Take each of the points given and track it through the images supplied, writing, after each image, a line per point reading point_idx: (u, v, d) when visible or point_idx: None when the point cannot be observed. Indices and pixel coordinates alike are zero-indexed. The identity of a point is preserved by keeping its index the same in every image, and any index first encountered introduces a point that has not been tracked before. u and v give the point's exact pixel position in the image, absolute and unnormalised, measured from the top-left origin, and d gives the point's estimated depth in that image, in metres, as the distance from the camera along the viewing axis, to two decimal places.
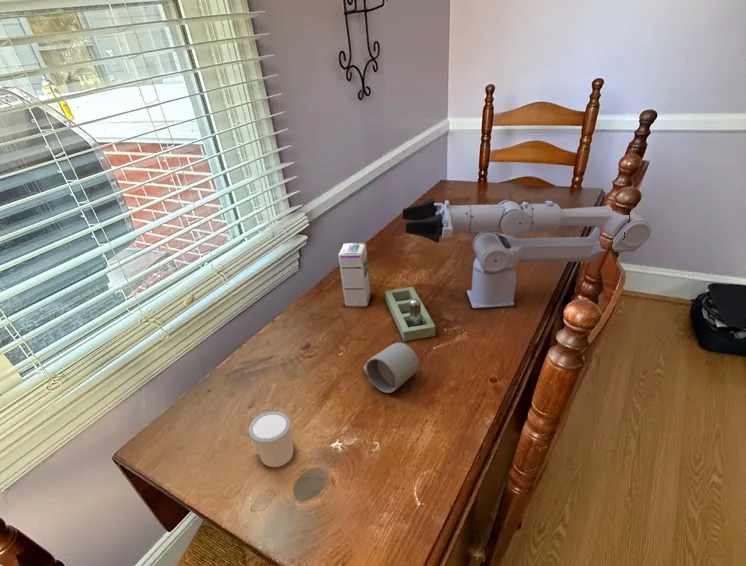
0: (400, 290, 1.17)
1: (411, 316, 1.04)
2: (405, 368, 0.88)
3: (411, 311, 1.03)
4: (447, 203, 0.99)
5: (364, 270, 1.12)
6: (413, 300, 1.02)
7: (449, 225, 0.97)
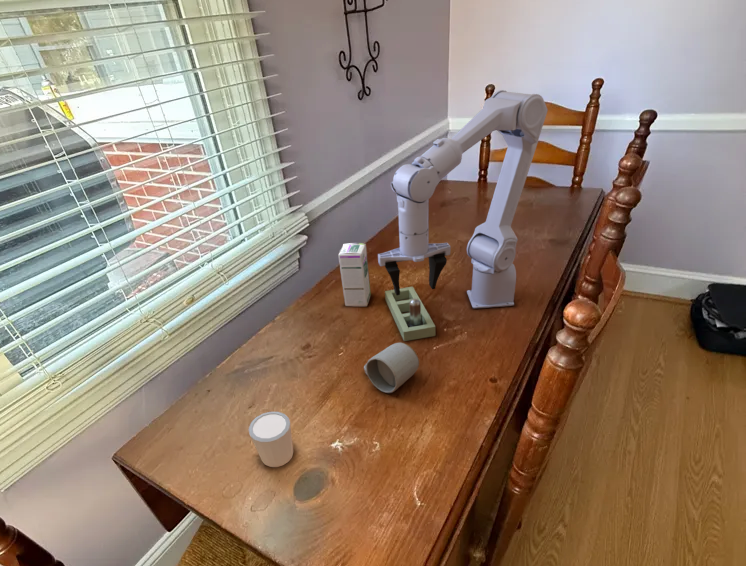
0: (400, 290, 1.17)
1: (411, 316, 1.04)
2: (405, 368, 0.88)
3: (411, 311, 1.03)
4: (423, 259, 0.93)
5: (364, 270, 1.12)
6: (413, 300, 1.02)
7: (444, 250, 0.95)
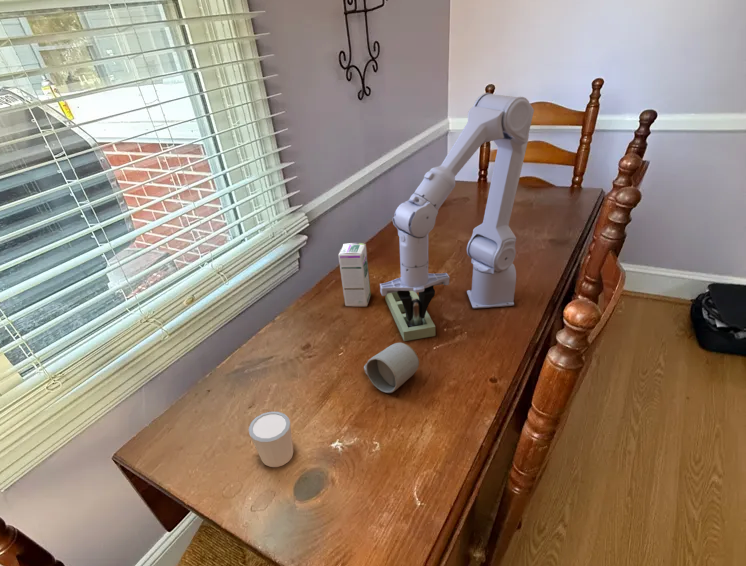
0: None
1: None
2: (405, 368, 0.88)
3: (411, 311, 1.03)
4: (423, 290, 0.97)
5: (364, 270, 1.12)
6: (413, 300, 1.02)
7: (443, 280, 0.99)
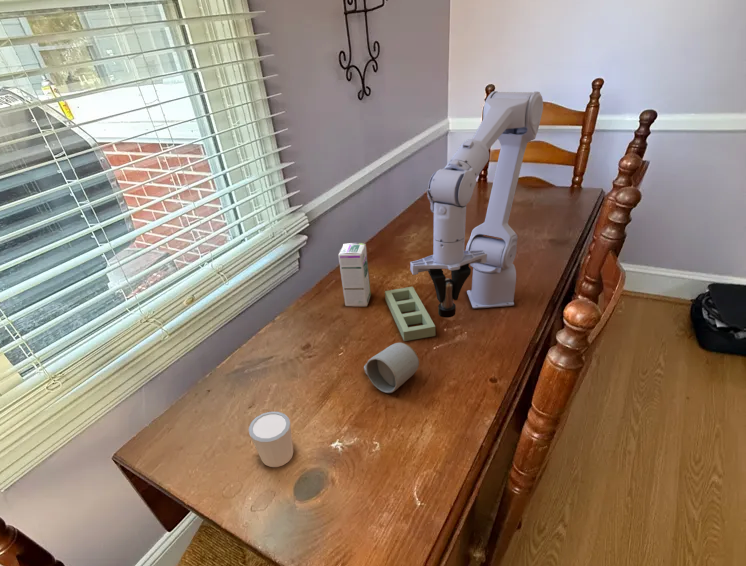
0: (400, 290, 1.17)
1: None
2: (405, 368, 0.88)
3: None
4: (459, 267, 0.88)
5: (364, 270, 1.12)
6: (446, 280, 0.94)
7: (480, 257, 0.91)
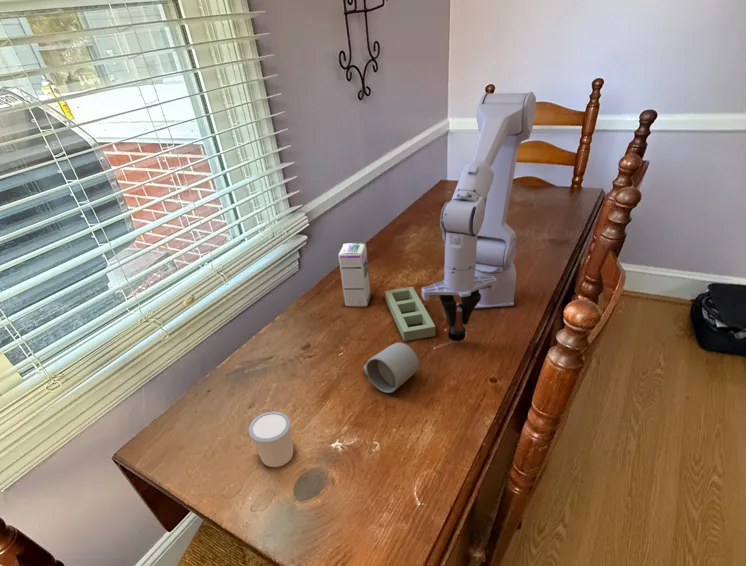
0: (400, 290, 1.17)
1: None
2: (405, 368, 0.88)
3: None
4: (470, 294, 0.90)
5: (364, 270, 1.12)
6: (456, 305, 0.95)
7: (490, 283, 0.92)
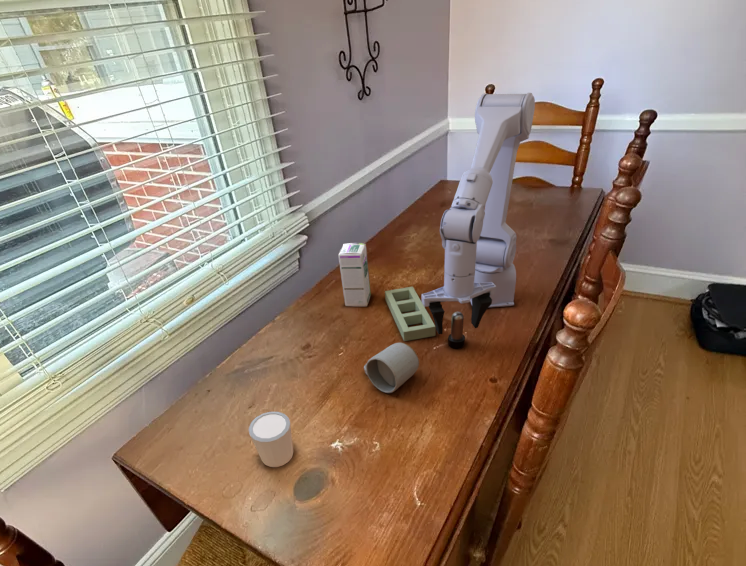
0: (400, 290, 1.17)
1: (453, 330, 0.98)
2: (405, 368, 0.88)
3: (453, 324, 0.97)
4: (469, 300, 0.90)
5: (364, 270, 1.12)
6: (456, 313, 0.96)
7: (489, 290, 0.93)
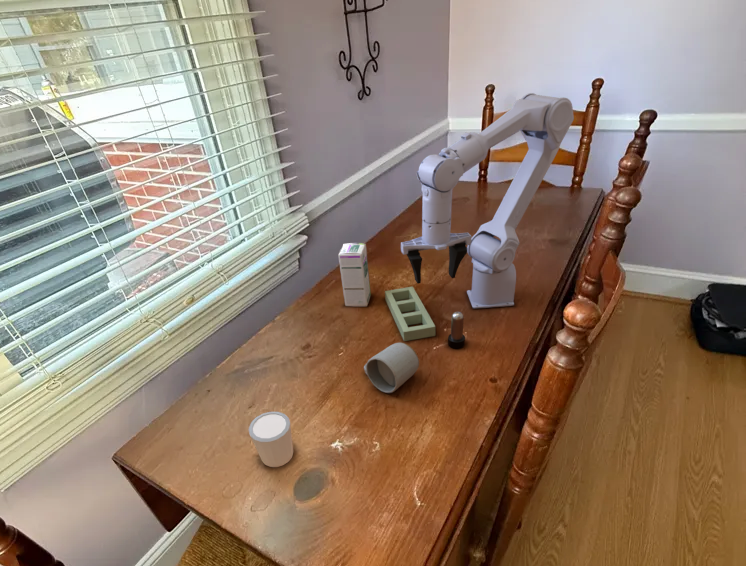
0: (400, 290, 1.17)
1: (453, 330, 0.98)
2: (405, 368, 0.88)
3: (453, 324, 0.97)
4: (445, 247, 0.95)
5: (364, 270, 1.12)
6: (456, 313, 0.96)
7: (465, 239, 0.98)
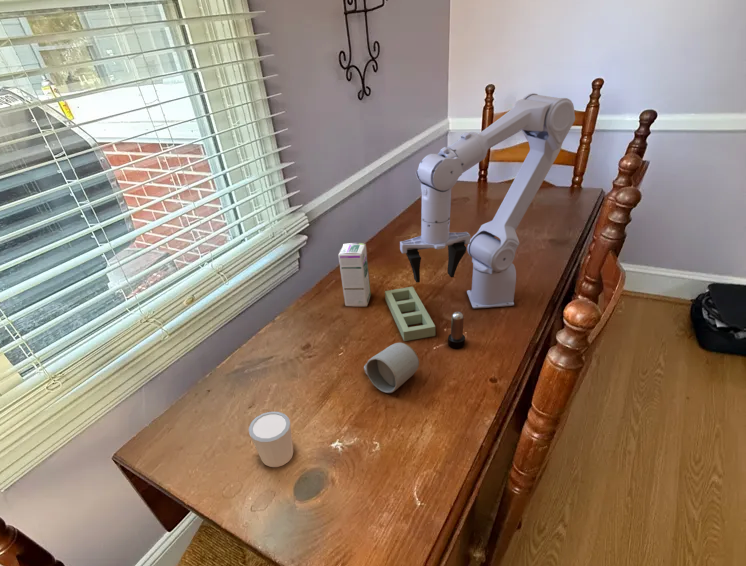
0: (400, 290, 1.17)
1: (453, 330, 0.98)
2: (405, 368, 0.88)
3: (453, 324, 0.97)
4: (444, 246, 0.96)
5: (364, 270, 1.12)
6: (456, 313, 0.96)
7: (464, 238, 0.98)
